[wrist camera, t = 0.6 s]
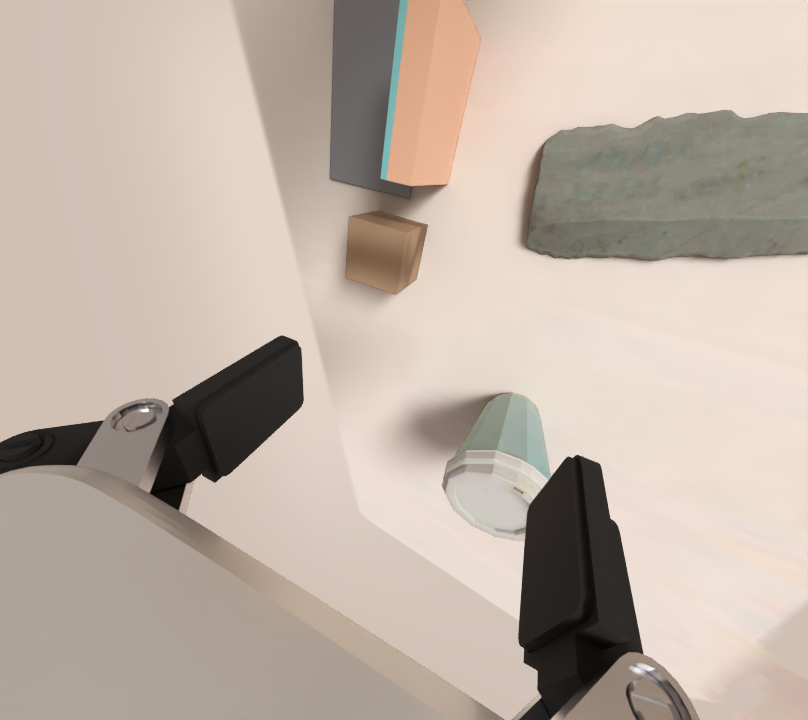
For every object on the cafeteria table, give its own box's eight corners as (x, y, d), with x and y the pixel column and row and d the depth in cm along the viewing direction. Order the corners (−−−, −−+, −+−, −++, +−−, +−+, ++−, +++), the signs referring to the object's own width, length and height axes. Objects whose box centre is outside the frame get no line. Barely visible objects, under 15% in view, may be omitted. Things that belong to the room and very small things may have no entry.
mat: (336, -15, 25) (334, -16, 25) (442, -6, 23) (441, -7, 23) (331, 178, 33) (329, 178, 33) (409, 198, 31) (408, 198, 31)
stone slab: (540, 137, 26) (524, 258, 30) (541, 127, 24) (524, 260, 27) (942, 87, 18) (850, 261, 22) (1004, 65, 16) (889, 264, 19)
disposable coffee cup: (524, 454, 41) (515, 565, 29) (455, 415, 43) (420, 506, 31) (575, 405, 35) (590, 522, 23) (492, 361, 36) (465, 449, 24)
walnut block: (377, 211, 33) (348, 216, 28) (427, 224, 31) (406, 232, 27) (371, 264, 36) (345, 277, 32) (416, 278, 35) (396, 294, 30)
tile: (452, 34, 24) (404, -38, 16) (481, 37, 23) (446, -36, 15) (425, 178, 29) (380, 178, 22) (448, 184, 29) (410, 186, 21)
